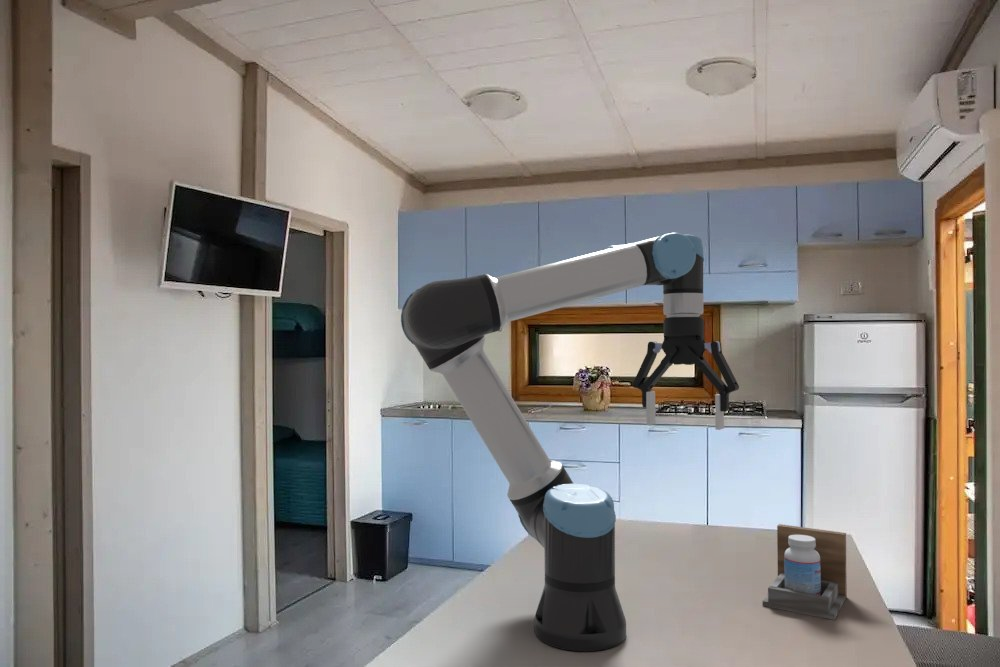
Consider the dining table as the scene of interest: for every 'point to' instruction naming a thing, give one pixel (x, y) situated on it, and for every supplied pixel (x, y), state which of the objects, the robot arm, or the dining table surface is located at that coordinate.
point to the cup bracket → (832, 575)
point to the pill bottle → (802, 565)
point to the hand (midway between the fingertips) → (684, 426)
